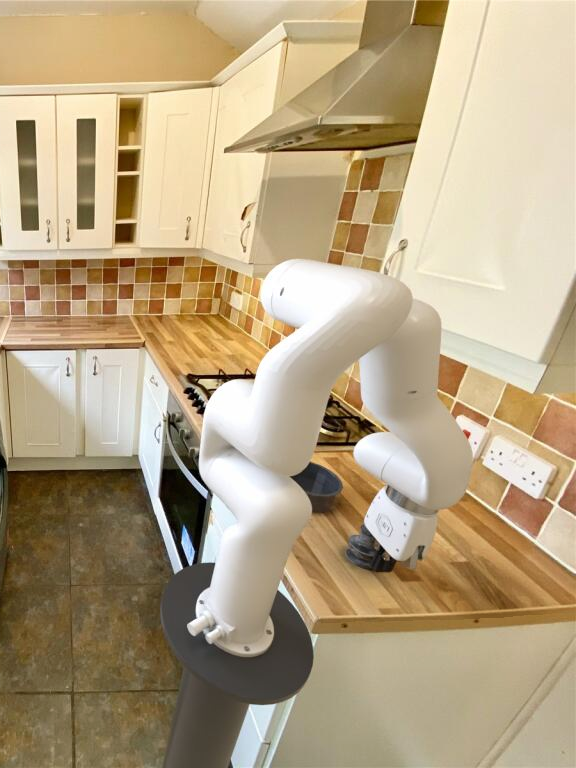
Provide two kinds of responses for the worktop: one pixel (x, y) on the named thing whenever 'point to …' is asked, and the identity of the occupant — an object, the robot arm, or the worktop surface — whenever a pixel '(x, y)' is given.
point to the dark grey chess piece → (361, 548)
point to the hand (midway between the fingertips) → (380, 568)
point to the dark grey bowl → (320, 487)
